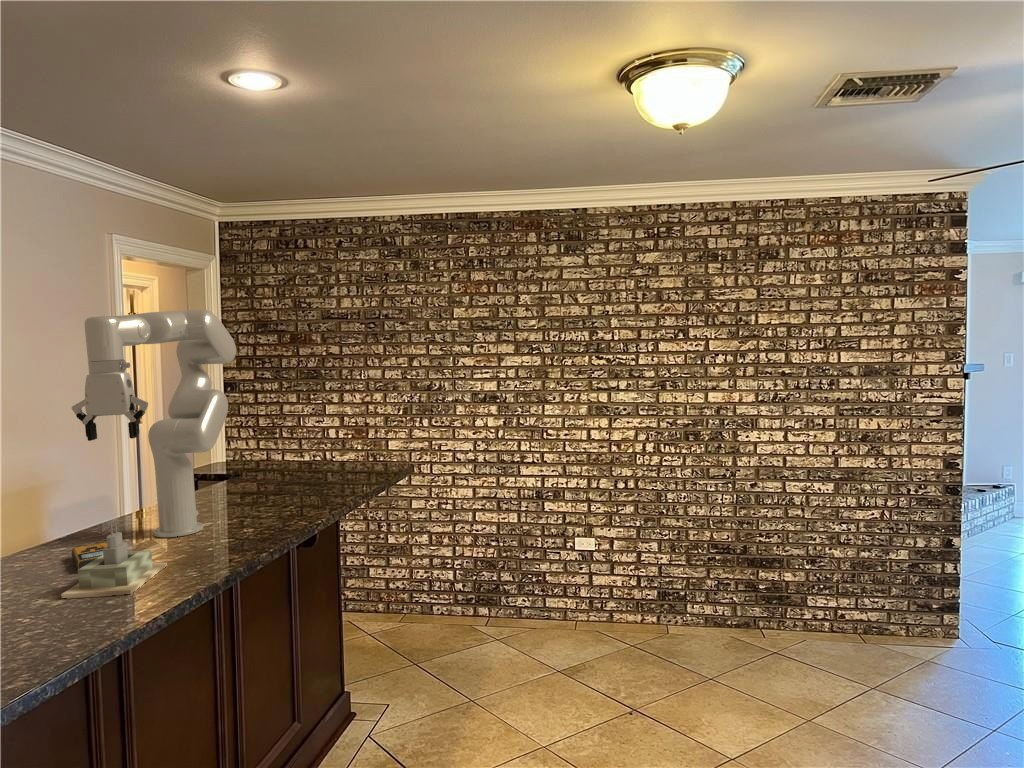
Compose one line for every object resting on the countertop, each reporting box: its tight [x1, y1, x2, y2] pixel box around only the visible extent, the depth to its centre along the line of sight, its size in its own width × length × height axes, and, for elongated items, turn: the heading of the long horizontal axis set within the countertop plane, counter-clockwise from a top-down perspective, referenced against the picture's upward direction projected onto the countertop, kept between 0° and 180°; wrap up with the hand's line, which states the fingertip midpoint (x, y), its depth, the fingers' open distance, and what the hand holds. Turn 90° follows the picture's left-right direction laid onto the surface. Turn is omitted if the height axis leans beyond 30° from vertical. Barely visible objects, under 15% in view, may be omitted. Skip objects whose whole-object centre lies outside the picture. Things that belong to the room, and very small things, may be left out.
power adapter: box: [103, 522, 129, 565], centre depth 156 cm, size 3×5×12 cm, turn 3°
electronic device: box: [71, 542, 107, 571], centre depth 172 cm, size 8×16×3 cm, turn 37°
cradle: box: [60, 549, 168, 599], centre depth 156 cm, size 18×14×5 cm
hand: (113, 438), depth 171 cm, fingers open, 9 cm apart
